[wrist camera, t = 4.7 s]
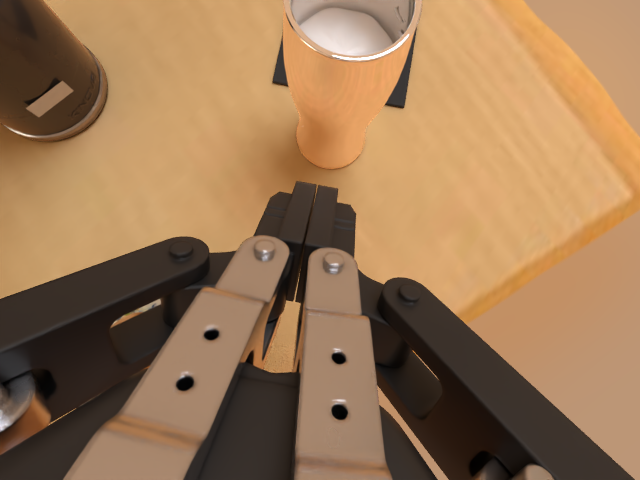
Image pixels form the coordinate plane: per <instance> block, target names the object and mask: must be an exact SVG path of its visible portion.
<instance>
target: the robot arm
mask: <svg viewBox="0 0 640 480" xmlns="http://www.w3.org/2000/svg"><path fill="white" fill-rule="evenodd" d="M106 95H107V79H106V74H105V72H104V69H103V67H102V65H101V64H100V62H99V61H98V59H97V58H96V57H95V56H94V55H93V54H92V53H91V51H90V50H89V49H88V48H86V47H85V46H84V45H83V44H82V43H81V42H80V41H79V40H78V39H77V38H76V37H75V36H74V34H73V33H72V32H71V31H70V30H69V29H68V27H67V26H66V25H65V24H64V23H63V22H62V21H61V20H60V19H59V17H58V16H57V15H56V14H55V13H54V12H53V11H52V10H51V9H50V7H49V6H48V5H47V4H46V3H45V2H44V1H43V0H0V123H1V124H3V125H4V126H5V127H7V128H8V129H10V130H12V131H13V132H15V133H17V134H19V135H21V136H23V137H25V138H28V139H31V140H36V141H57V140H62V139H66V138H69V137H71V136H73V135H76V134H77V133H79V132H81V131H82V130H84V129H85V128H86V127H88V126H89V125H90V124H91V123H92V122H93V121H94V120H95V119H96V117H97V116H98V115H99V113H100V111H101V110H102V108H103V105H104V103H105V100H106ZM316 186H317V185H316V184H310V183H305V182H300V181H296V184H295V187H294V190H293V192H292V194H289V193H284V192H278V193H277V194H275V195H274V196H272V197H271V198H270V200H269V202H268V204H267V208H266V209H265V211H264V215H263V216H262V218H261V220H260V222H259V225H258V227H257V229H256V232H255V234H254V236H253V237H250V238H248V239H246V240H245V241H243V242H242V244H241V245H240V247H239V248H238V250H236V251H232V252H222V253H209V248H208V246H207V245H206V244H205V243H204V242H203V241H201V240H199V239H196V238H193V237H175V238H171V239H167V240H165V241H162V242H159V243H156V244H153V245H151V246H148V247H145V248H142V249H139V250H136V251H134V252H131V253H128V254H125V255H122V256H120V257H117V258H114V259H111V260H108V261H106V262H103V263H100V264H97V265H94V266H92V267H89V268H86V269H83V270H80V271H78V272H75V273H72V274H69V275H66V276H64V277H61V278H58V279H55V280H52V281H49V282H47V283H44V284H41V285H38V286H35V287H33V288H30V289H27V290H24V291H21V292H19V293H16V294H13V295H10V296H7V297H5V298H2V299H0V480H438V479H437V478H436V477H435V475H434V474H433V472H432V471H431V469H430V468H429V467H428V465H427V464H426V462H425V461H424V459H423V458H422V457H421V455H420V454H419V452H418V451H417V449H416V448H415V446H414V445H413V444H412V442H411V441H410V439H409V438H408V436H407V435H406V434H405V432H404V431H403V429H402V428H401V427H400V425H399V424H398V423H397V422H396V420H395V419H394V418H393V417H392V416H391V415H390V414H389V413H388V412H387V411H386V410H385V409H384V408H382V407H381V406H380V405H379V400H378V390H377V385H378V387H379V388H380V389H381V390H382V392H383V393H384V394H385V396H386V397H387V398H388V399H389V401H390V402H391V404H392V405H393V406H394V408H395V409H396V410H397V412H398V413H399V414H400V416H401V417H402V418H403V420H404V421H405V422H406V424H407V425H408V426H409V428H410V429H411V430H412V431H413V433H414V434H415V435H416V437H417V438H418V439H419V441H420V442H421V443H422V445H423V446H424V447H425V449H426V450H427V451H428V453H429V454H430V455H431V457H432V458H433V459H434V461H435V462H436V463H437V465H438V466H439V467H440V469H441V470H442V471H443V472H444V474H445V475H446V476H447V478H448V479H449V480H635V479H634V478H632V477H631V476H630V475H629V474H628V473H627V472H626V471H625V470H624V469H623V468H622V467H620V466H619V465H618V464H617V463H616V462H615V461H614V460H613V459H612V458H611V457H610V456H608V455H607V454H606V453H605V452H604V451H603V450H602V449H601V448H600V447H599V446H598V445H596V444H595V443H594V442H593V441H592V440H591V439H590V438H589V437H588V436H587V435H585V434H584V433H583V432H582V431H581V430H580V429H579V428H578V427H577V426H576V425H575V424H574V423H573V422H572V421H570V420H569V419H568V418H567V417H566V416H565V415H564V414H563V413H562V412H561V411H559V410H558V409H557V408H556V407H555V406H554V405H553V404H552V403H551V402H550V401H549V400H548V399H546V398H545V397H544V396H543V395H542V394H541V393H540V392H539V391H538V390H537V389H536V388H535V387H533V386H532V385H531V384H530V383H529V382H528V381H527V380H526V379H525V378H524V377H523V376H521V375H520V374H519V373H518V372H517V371H516V370H515V369H514V368H513V367H512V366H510V365H509V364H508V363H507V362H506V361H505V360H504V359H503V358H502V357H501V356H500V355H499V354H498V353H496V352H495V351H494V350H493V349H492V348H491V347H490V346H489V345H488V344H487V343H486V342H484V341H483V340H482V339H481V338H480V337H479V336H478V335H477V334H476V333H475V332H474V331H472V330H471V329H470V328H469V327H468V326H467V325H466V324H465V323H464V322H463V321H462V320H461V319H459V318H458V317H457V316H456V315H455V314H454V313H453V312H452V311H451V310H450V309H449V308H447V307H446V306H445V305H444V304H443V303H442V302H441V301H440V300H439V299H438V298H437V297H436V296H434V295H433V294H432V293H431V292H430V291H429V290H428V289H427V288H426V287H424V286H423V285H422V284H420V283H418V282H416V281H414V280H411V279H408V278H399V277H398V278H392V279H390V280H388V281H387V282H386V283H385V284H384V285H383V284H381V283H379V282H377V281H374V280H372V279H370V278H368V277H367V276H365V275H364V274H363V273H362V272H361V271H360V270H359V269H358V266H357V263H356V261H355V259H354V249H355V223H356V213H355V212H354V210H353V208H352V207H351V205H348V204H343V203H337V195H338V189H337V188H332V187H327V186H321V185H318V189H317V193H316ZM315 193H316V197H315ZM314 199H315V202H314ZM313 205H314V206H313ZM300 269H301V270H300ZM299 273H300V276H299ZM298 278H299V282H298ZM297 282H298V288H297V294H296V300H295V302H299V303H301V305H300V311H299V316H298V322H297V330H296V340H295V349H294V359H293V369H292V372H288V373H270V372H267V371H265V370H263V368H264V365H265V362H266V359H267V357H268V354H269V351H270V348H271V345H272V343H273V340H274V337H275V334H276V331H277V328H278V326H279V323H280V319H281V314H282V312H283V310H284V307H285V303H286V300H288V301H293V300H294V296H295V291H296V287H297ZM158 299H160V301H161V304H160V305H158V306H155V307H153V308H151V309H149V310H147V311H145V312H143V313H141V314H139V315H136V316H134V317H132V318H130V319H128V320H126V321H124V322H122V323H119V324H117V325H115V326H113V327H111V326H112V324H113V323H114V322H115V321H116V320H117V319H119V318H120V317H122V316H124V315H126V314H128V313H130V312H132V311H134V310H137V309H139V308H141V307H143V306H145V305H147V304H150V303H152V302H154V301H156V300H158ZM110 327H111V328H110ZM412 350H413V351H414V352H415V353H416V354H417V355H418V356H419V357H420V358H421V359H422V361H423V362H424V363H425V364H426V365H427V366H428V367H429V368H430V369H431V371H432V372H433V373H434V374H435V375H436V376H437V378H438V379H439V380H438V379H437V378H436V377H435V376H434V375H433V374H432V372H431V371H430V370H429V369H428V368H427V367H426V366H425V365H424V363H422V361H421V360H420V359H419V358H418V357H417V356H416V355H415V353H414V352H413V351H412ZM148 366H150V367H149V368H146V367H148ZM145 368H146V369H145ZM143 369H144V370H143ZM141 370H142V371H141ZM99 394H100V395H99ZM94 397H95V398H94ZM89 400H90V401H89ZM87 401H88V402H87ZM86 402H87V403H86ZM84 403H85V404H84ZM82 404H83V405H82ZM80 405H82V406H80ZM79 406H80V407H79ZM77 407H78V408H77ZM75 408H77V409H75ZM73 409H75V410H73ZM72 410H73V411H72ZM70 411H72V412H70ZM68 412H70V413H68ZM66 413H68V414H67V415H65V414H66ZM63 415H65V416H64V417H62V418H60V419H59V420H57V421H55V422H54V423H52V424H50V425H49V423H51V422H53V421H54V420H56V419H58V418H59V417H61V416H63ZM48 425H49V426H48Z"/></svg>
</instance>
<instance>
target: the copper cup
mask: <svg viewBox="0 0 640 480" xmlns="http://www.w3.org/2000/svg"><path fill="white" fill-rule="evenodd" d="M283 6H284V14H283V53H284V64H285V71H286V78H287V82H288V86H289V89H290V92H291V96H292V98H293V101H294V103H295V106H296V109H297V111H298V113H299V116H300V119H299V122H298V126H297V131H296V139H297V144H298V147H299V149H300V151H301V153H302V154H303V156H304V157H305V158H306V159H307V160H308V161H310V162H311V163H312V164H314V165H316V166H318V167H321V168H326V169H337V168H341V167H344V166H347V165H349V164H350V163H352V162H353V161H354V160H355V159H356V158H357V157H358V156H359V155H360V153H361V151H362V149H363V147H364V144H365V129H366V127H367V126H368V125H369V124H370V123H371V121H372V120H373V119H374V118H375V117H376V115H377V114H378V113H379V112H380V110H381V109H382V108H383V106H384V105H385V103H386V102H387V100H388V99H389V97H390V96H391V94H392V92H393V90H394V88H395V86H396V84H397V82H398V80H399V77H400V75H401V72H402V70H403V67H404V64H405V62H406V59H407V56H408V52H409V49H410V46H411V43H412V39H413V36H414V32H415V29H416V27H417V25H418V22H419V19H420V16H421V10H422V0H283Z"/></svg>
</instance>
